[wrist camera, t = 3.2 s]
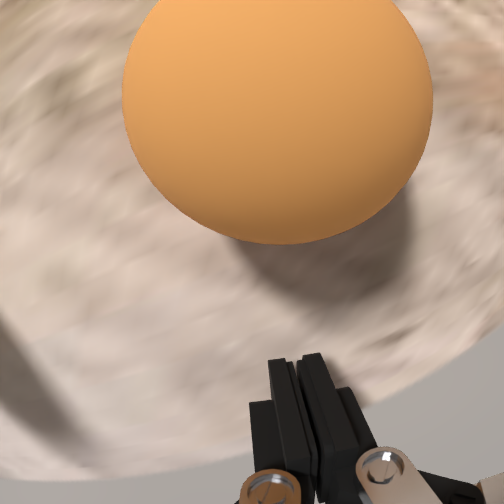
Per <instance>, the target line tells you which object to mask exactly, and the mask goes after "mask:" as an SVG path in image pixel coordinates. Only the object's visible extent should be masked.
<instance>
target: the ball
mask: <svg viewBox="0 0 504 504" xmlns="http://www.w3.org/2000/svg"><path fill="white" fill-rule="evenodd" d="M122 109H123V116H124V122H125V128H126V132H127V135H128V138H129V141H130V144H131V147H132V150H133V152H134V154H135V156H136V158H137V160H138V162H139V164H140V166H141V168H142V169H143V171H144V172H145V173H146V175H147V176H148V178H149V179H150V181H151V182H152V184H153V185H154V186H155V187H156V188H157V189H158V190H159V191H160V193H161V194H162V195H163V196H164V197H165V198H166V199H167V200H168V201H169V202H170V203H172V204H173V205H174V206H175V207H176V208H177V209H179V210H180V211H181V212H182V213H184V214H185V215H187V216H188V217H190V218H191V219H193V220H194V221H196V222H198V223H199V224H201V225H203V226H205V227H207V228H209V229H211V230H214V231H216V232H218V233H220V234H223V235H226V236H229V237H232V238H235V239H238V240H243V241H248V242H254V243H259V244H273V245H288V244H302V243H307V242H312V241H317V240H322V239H325V238H328V237H331V236H334V235H337V234H340V233H343V232H345V231H347V230H349V229H351V228H353V227H355V226H357V225H360V224H361V223H363V222H364V221H366V220H367V219H369V218H370V217H372V216H373V215H375V214H376V213H378V212H379V211H380V210H381V209H382V208H383V207H384V206H386V205H387V204H388V203H389V202H390V201H391V200H392V199H393V198H394V197H395V196H396V194H397V193H398V192H399V191H400V190H401V189H402V187H403V186H404V185H405V184H406V183H407V181H408V180H409V178H410V177H411V175H412V173H413V172H414V170H415V169H416V167H417V165H418V163H419V161H420V159H421V156H422V154H423V152H424V149H425V146H426V143H427V140H428V136H429V131H430V126H431V120H432V111H433V91H432V81H431V75H430V71H429V66H428V62H427V59H426V56H425V54H424V51H423V48H422V46H421V43H420V41H419V39H418V38H417V36H416V34H415V32H414V30H413V28H412V27H411V25H410V24H409V22H408V21H407V19H406V18H405V16H404V15H403V14H402V12H401V11H400V10H399V9H398V8H397V7H396V5H395V4H394V3H393V2H392V1H391V0H160V1H159V2H158V3H157V4H156V5H155V6H154V8H153V9H152V10H151V11H150V13H149V14H148V16H147V17H146V19H145V20H144V22H143V23H142V25H141V26H140V28H139V30H138V31H137V34H136V36H135V38H134V40H133V42H132V45H131V47H130V50H129V53H128V56H127V60H126V63H125V67H124V75H123V82H122Z"/></svg>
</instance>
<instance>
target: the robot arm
mask: <svg viewBox="0 0 504 504" xmlns="http://www.w3.org/2000/svg"><path fill="white" fill-rule="evenodd" d="M268 368H269V378H270V388H271V398H272V400H266V401H258V402H249V408H250V420H251V432H252V443H253V455H254V466H255V473H254V474H253V475H251V476H250V477H248V478H247V480H246V481H245V482H244V483H243V486H242V488H241V493H240V498H239V500H238V501H237V502H236V503H235V504H314V499H315V490H316V494H317V498H318V502H319V503H324V502H325V504H504V472H503V473H500V474H497V475H494V476H491V477H488V478H485V479H482V480H480V481H479V482H478V483H477V484H470V483H466V482H462V481H458V480H453V479H449V478H445V477H441V476H437V475H434V474H430V473H426V472H423V471H419V470H416V468H415V467H414V465H413V464H412V463H411V461H410V460H409V459H408V457H407V456H406V455H405V454H403V452H402V451H400V450H397V449H395V448H390V447H378V446H377V444H376V441H375V439H374V437H373V435H372V433H371V431H370V428H369V426H368V424H367V422H366V420H365V418H364V415H363V413H362V411H361V409H360V407H359V405H358V403H357V401H356V398H355V396H354V394H353V392H352V390H351V389H350V387H344V388H339V389H335V386H334V384H333V381H332V379H331V377H330V374H329V372H328V370H327V367H326V365H325V363H324V360H323V358H322V356H321V354H320V353H314V354H308V355H303V357H302V360H298V361H297V376H296V373H295V369H294V366H293V362H292V361H291V362H286V360H285V358H281V359H273V360H268Z"/></svg>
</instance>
